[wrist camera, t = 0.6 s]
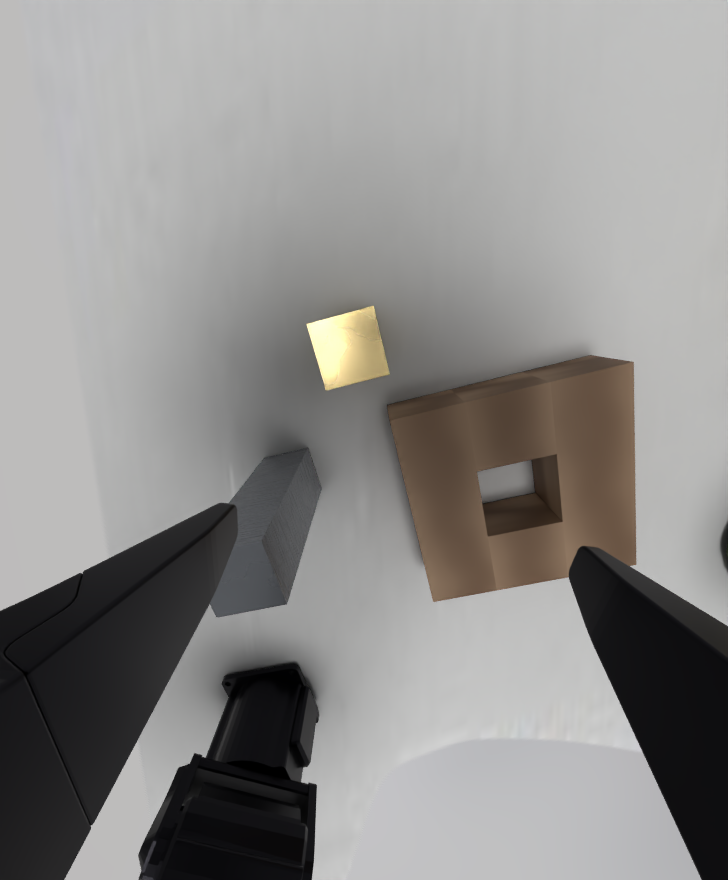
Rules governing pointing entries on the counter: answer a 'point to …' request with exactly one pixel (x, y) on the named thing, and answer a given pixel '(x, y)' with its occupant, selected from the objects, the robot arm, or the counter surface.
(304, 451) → the long pin
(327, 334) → the short pin
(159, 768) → the counter surface
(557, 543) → the socket block
